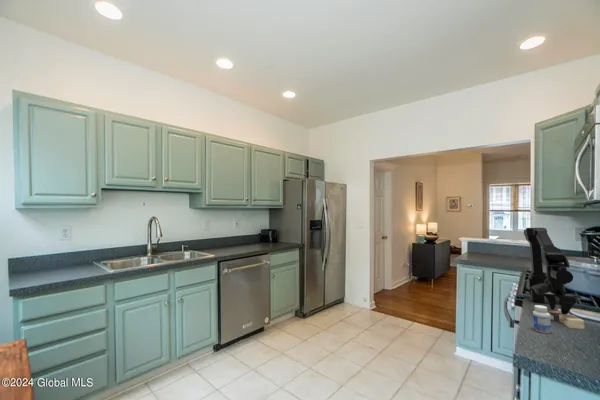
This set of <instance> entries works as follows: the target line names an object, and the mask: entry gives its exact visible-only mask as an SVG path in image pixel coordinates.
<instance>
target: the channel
mask: <svg viewBox="0 0 600 400" xmlns="http://www.w3.org/2000/svg"><path fill="white" fill-rule="evenodd" d="M547 312H548V313H549V314H550V320H552V321H553V320H555V319H554V318H555V317H554V315H552V314H558V315H559V314H562V313H561V309H560V308H557V310H547ZM567 315H571V314H570V313H568V314H567Z"/></svg>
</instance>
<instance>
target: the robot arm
mask: <svg viewBox="0 0 600 400" xmlns="http://www.w3.org/2000/svg"><path fill="white" fill-rule="evenodd" d="M523 236H524V237H525V240H526V241H527V242H528V244H529V253H530V264H531V271H530V272H529V273H528V278H527V280H526V282H525V287H526V289H527V290H528V291H530V296H531V297H529V298H528V300H530V301H531V302H533V303H539V304H548V305H549V308H550V311H555V309H556V306H557V305H556V304H558V305H559V309H561V313H562V314H569V312H570V310H571V309H572V308H573V306H574V305H576V304H578V297H576V296H574V295H572V294H570V293H568V291H567V290H565V289H566V288H565V285H567V284H569V283H572V282H573V280H574V276H573V273H572V272H570V271H568V270H567V268H569V269H570V262H569V259H568V257H567V256H566V255H565V254H564V253H563V251H562V250H561V249H560V248H559V247H557V246H555V245H554V243H553V241H552V239H551V238H550V235H549V234H548V230H547V228H546V227H526V228H525V229H524V230H523ZM543 263H544V266H545V268H546V269H545V270H546V274H545V273H544V269H543Z"/></svg>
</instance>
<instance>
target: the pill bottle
mask: <svg viewBox="0 0 600 400" xmlns="http://www.w3.org/2000/svg"><path fill="white" fill-rule="evenodd" d="M533 307H534V310H533V311H532V319H533V328H534V330H535V331H536V332H538V331H539V333H542V334H551V333H552V323H551V319H550V314H551V313H548V312H547V311H548V307H547V306H545V305H539V304H536V305H534V306H533Z"/></svg>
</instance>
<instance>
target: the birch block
mask: <svg viewBox="0 0 600 400" xmlns="http://www.w3.org/2000/svg"><path fill="white" fill-rule="evenodd" d="M558 319H559V322H560V323H561V324H563V325H565V327H568V328H569V329H570V328H571V329H582V330H583V329H585V320H583V319H582V318H580V317H578V316H576V315H574V314H570V315H567V314H558ZM585 330H586V329H585Z"/></svg>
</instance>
